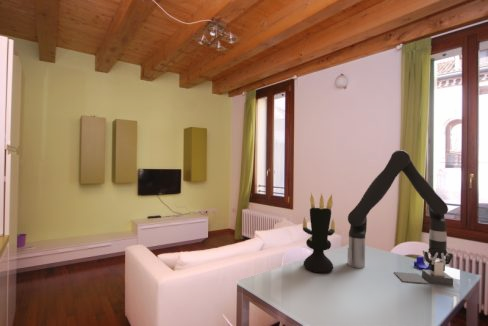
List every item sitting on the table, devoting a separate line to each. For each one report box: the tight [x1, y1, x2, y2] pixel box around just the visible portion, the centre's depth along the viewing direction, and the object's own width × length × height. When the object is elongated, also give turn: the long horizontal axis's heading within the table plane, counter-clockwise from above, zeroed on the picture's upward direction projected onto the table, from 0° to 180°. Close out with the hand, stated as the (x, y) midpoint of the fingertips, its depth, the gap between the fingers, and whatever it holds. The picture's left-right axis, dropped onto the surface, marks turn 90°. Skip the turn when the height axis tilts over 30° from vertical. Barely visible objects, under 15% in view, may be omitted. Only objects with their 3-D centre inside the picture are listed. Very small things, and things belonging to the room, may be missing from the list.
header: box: [421, 269, 454, 286], centre depth 142 cm, size 10×10×4 cm
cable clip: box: [413, 255, 430, 271], centre depth 156 cm, size 12×4×6 cm, turn 1°
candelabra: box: [302, 192, 336, 274], centre depth 154 cm, size 19×22×45 cm
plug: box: [431, 259, 444, 276], centre depth 142 cm, size 4×4×10 cm
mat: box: [393, 271, 429, 285], centre depth 144 cm, size 12×12×1 cm
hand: (437, 271), depth 142 cm, fingers closed on plug, 4 cm apart
